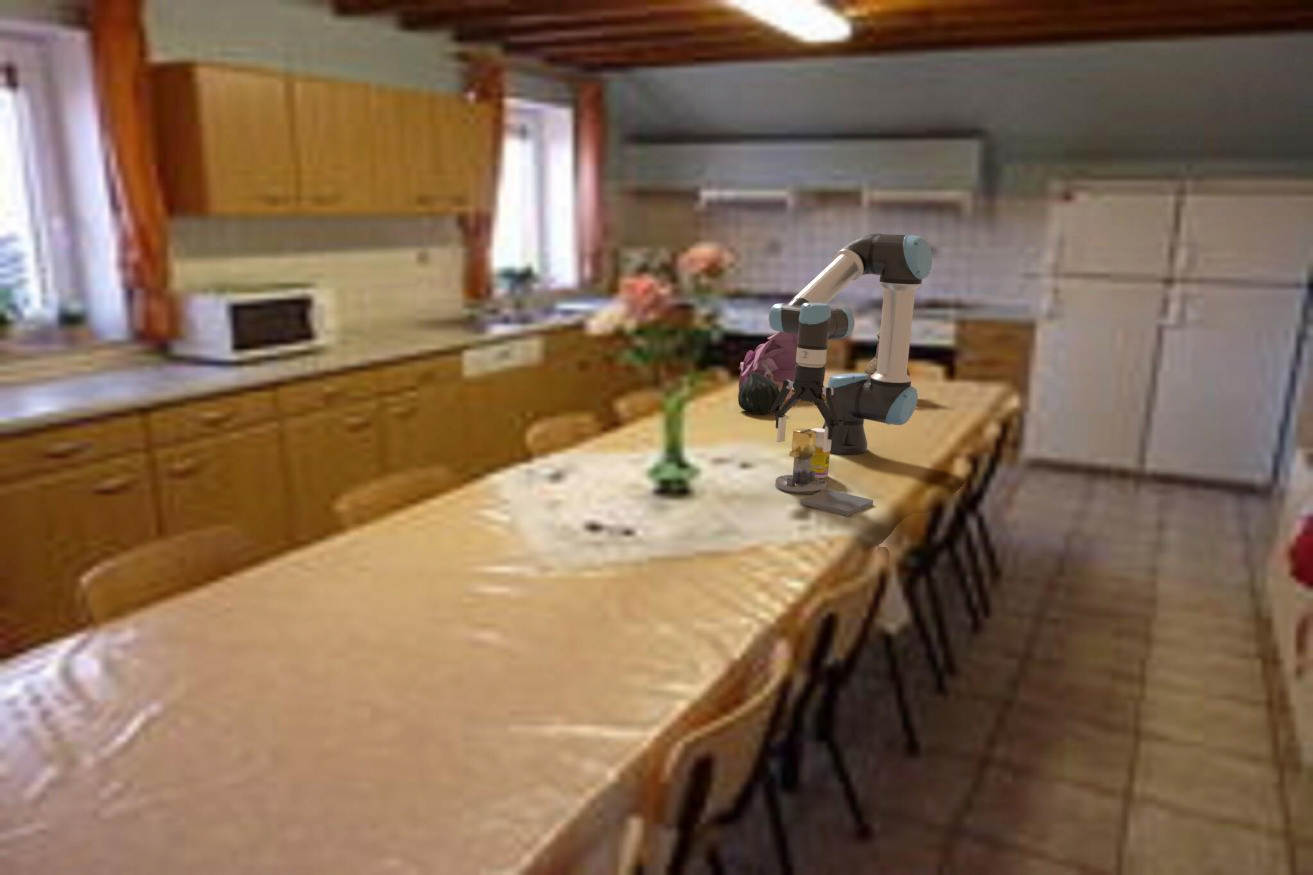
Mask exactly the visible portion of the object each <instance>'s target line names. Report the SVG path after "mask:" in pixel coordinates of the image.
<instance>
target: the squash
mask: <svg viewBox="0 0 1313 875" xmlns="http://www.w3.org/2000/svg"><path fill="white" fill-rule="evenodd" d="M779 393H780V392H779V389H778V387H777V385H776V384H775V383H774V382H772V381H771V380H770V379H768V378H766V377H764V376H763V375H761V374H758V373H754V372H753V373H752V374H751V375H750V376H749V377H748V379H747V380H746V381H745V382H744V383H743V384H742V386H741V388H740V390H739V389H738V395H737V399H738V400H737V401H738V402H737V403H738V405H739V407H740V408H741V409H742V410H744V412H746V413H750V414H752V413H753V414H755V415H758V414H762V415H767V414H768V413H770V409H771V407H772V406H773V404H774V402H775V400H776V398H777V397H778V395H779Z"/></svg>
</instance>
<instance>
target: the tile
mask: <svg viewBox="0 0 1313 875" xmlns="http://www.w3.org/2000/svg"><path fill="white" fill-rule="evenodd" d="M800 505H803V506H807V507H811V508H814V509H818V510H823V511H826V512H830V513H833V514H836V515H841V516H846V517H849V516H851V515H854V514H856V513H858V512H860V511H862V509H863V510H865V509H867V508H869V507H871V506H873V505H874V499H869V498H866V497H862V496H858V495H853V494H850V493H845V492H842V491H838V490H832V489H829V488H826V489H825V490H823V491H820V492H818V493H815V494H813V495H807V496H805V497H803V498H800ZM868 506H869V507H868ZM866 507H867V508H866ZM864 508H865V509H864Z"/></svg>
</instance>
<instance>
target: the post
mask: <svg viewBox="0 0 1313 875" xmlns="http://www.w3.org/2000/svg"><path fill="white" fill-rule="evenodd" d="M810 469H811V457H800V456H798V457H793V468H792V474H786V475H780V476H778V477H776V478H775V484H774V486H775V489H778V490H780V491H782V492H784V493H789V494H794V495H799V496H800V495H801V496H810V495H813V494H815V493H818V492H820V491H823V490H825V489H827V483H826V482H825V480H822V478H815V471H813V470H810Z"/></svg>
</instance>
